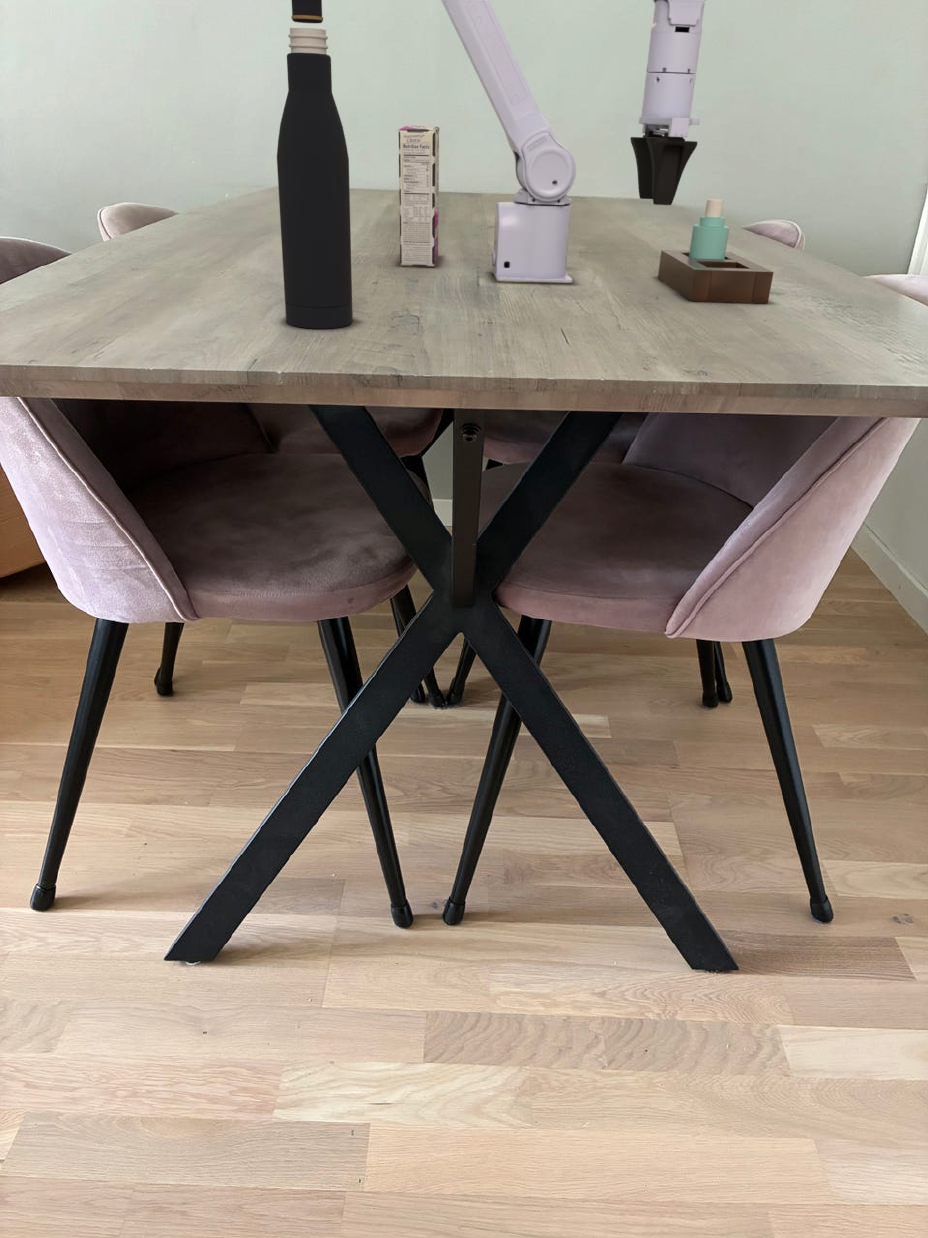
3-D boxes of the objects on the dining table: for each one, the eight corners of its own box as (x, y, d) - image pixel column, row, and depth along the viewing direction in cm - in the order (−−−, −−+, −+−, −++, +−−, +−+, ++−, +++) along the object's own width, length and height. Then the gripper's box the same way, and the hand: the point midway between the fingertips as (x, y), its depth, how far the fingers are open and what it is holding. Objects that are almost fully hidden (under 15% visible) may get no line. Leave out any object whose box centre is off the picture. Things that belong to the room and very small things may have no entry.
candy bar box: (403, 254, 132) (404, 124, 124) (438, 256, 132) (441, 126, 124) (397, 266, 122) (397, 126, 114) (435, 267, 122) (437, 127, 114)
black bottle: (340, 331, 87) (329, -63, 72) (276, 325, 88) (251, -63, 73) (360, 318, 92) (353, -50, 77) (299, 313, 93) (281, -51, 78)
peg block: (690, 301, 107) (695, 269, 105) (657, 277, 121) (661, 249, 120) (767, 303, 108) (773, 271, 106) (726, 279, 122) (730, 251, 120)
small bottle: (690, 287, 115) (702, 200, 111) (681, 281, 119) (693, 197, 114) (724, 288, 116) (738, 201, 111) (714, 282, 120) (727, 198, 115)
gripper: (722, 73, 101) (703, 208, 108) (688, 76, 114) (672, 197, 120) (659, 70, 101) (643, 206, 107) (631, 74, 113) (619, 195, 120)
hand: (654, 201), depth 114 cm, fingers open, 7 cm apart
